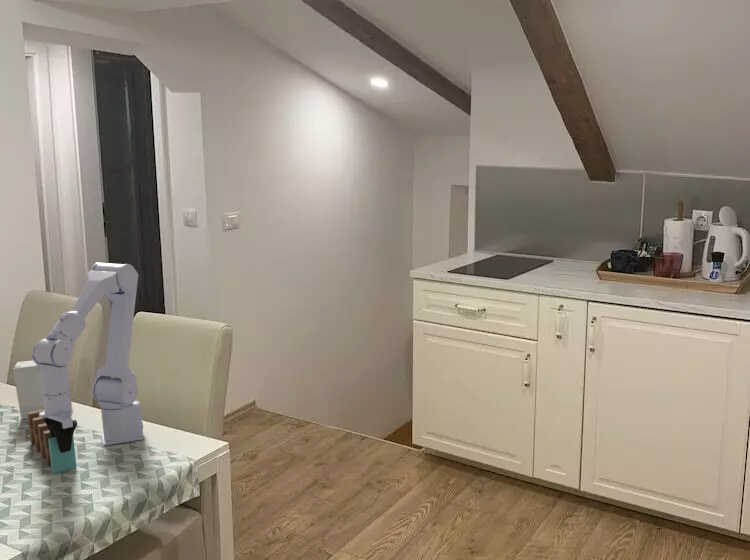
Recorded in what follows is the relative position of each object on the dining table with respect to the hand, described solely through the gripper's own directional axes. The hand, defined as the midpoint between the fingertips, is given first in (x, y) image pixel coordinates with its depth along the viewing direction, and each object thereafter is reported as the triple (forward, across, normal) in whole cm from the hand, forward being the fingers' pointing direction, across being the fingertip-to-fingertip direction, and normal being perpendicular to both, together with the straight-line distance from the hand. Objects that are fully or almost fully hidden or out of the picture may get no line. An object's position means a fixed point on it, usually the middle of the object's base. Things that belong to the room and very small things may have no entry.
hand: (62, 448), depth 174 cm
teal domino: (+5, 0, 0) cm, 5 cm away
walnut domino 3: (+5, -10, 0) cm, 11 cm away
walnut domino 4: (+5, -5, 0) cm, 7 cm away
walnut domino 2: (+5, -15, 0) cm, 16 cm away
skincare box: (+5, -40, +4) cm, 40 cm away
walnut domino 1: (+5, -20, 0) cm, 21 cm away
